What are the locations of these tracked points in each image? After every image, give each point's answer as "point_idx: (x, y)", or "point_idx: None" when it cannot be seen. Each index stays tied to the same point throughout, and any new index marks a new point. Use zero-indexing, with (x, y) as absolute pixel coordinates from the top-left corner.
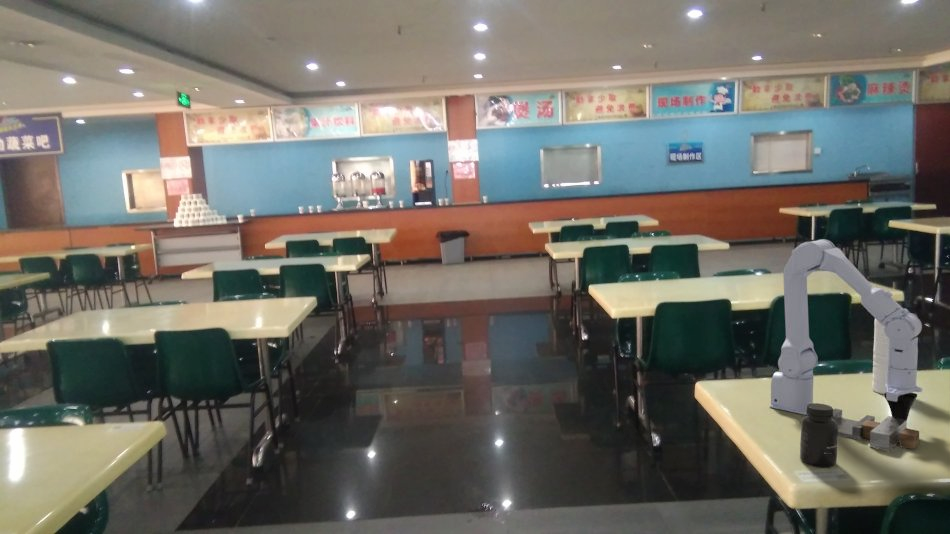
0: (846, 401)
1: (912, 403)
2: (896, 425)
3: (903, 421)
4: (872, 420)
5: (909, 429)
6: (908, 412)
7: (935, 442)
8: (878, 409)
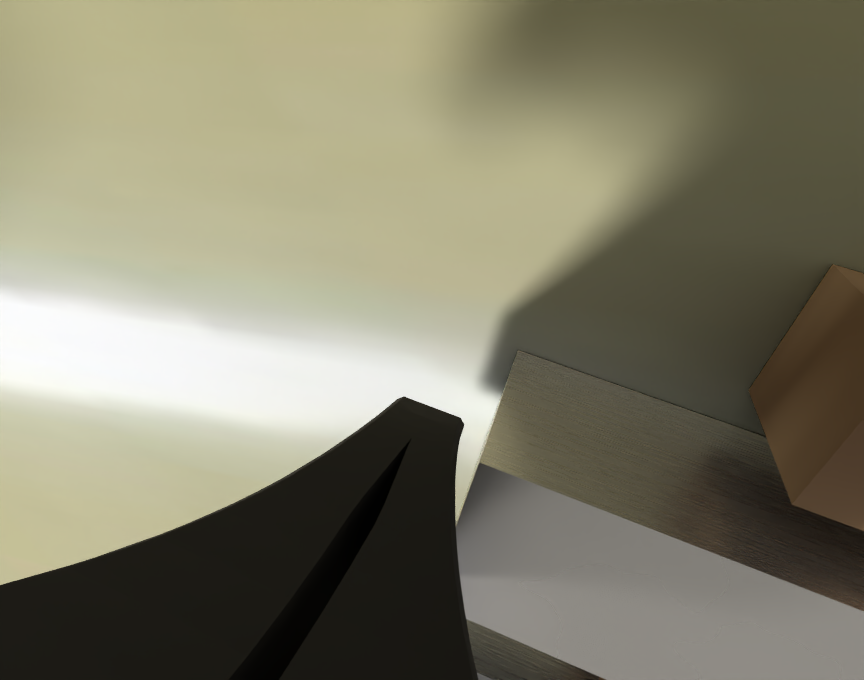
0: (31, 565)
1: (168, 538)
2: (838, 637)
3: (594, 518)
4: (491, 654)
5: (854, 470)
6: (350, 485)
7: (679, 50)
8: (25, 439)
